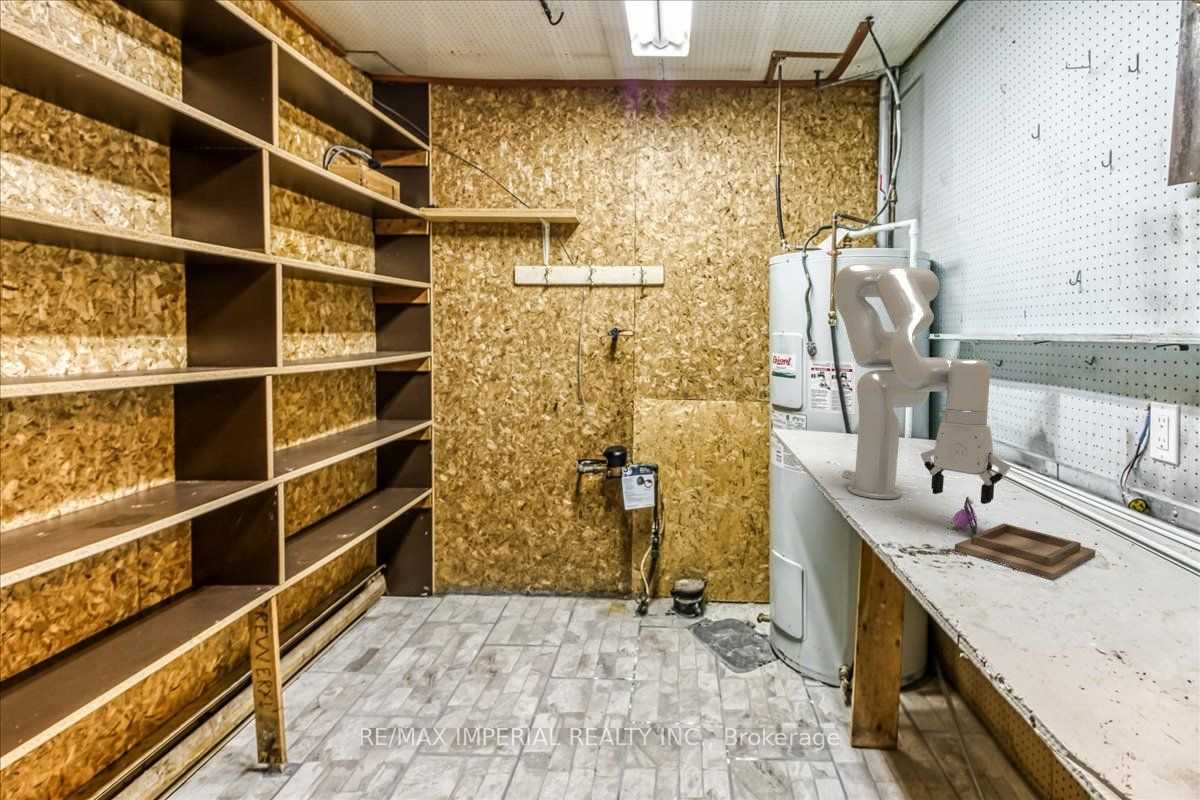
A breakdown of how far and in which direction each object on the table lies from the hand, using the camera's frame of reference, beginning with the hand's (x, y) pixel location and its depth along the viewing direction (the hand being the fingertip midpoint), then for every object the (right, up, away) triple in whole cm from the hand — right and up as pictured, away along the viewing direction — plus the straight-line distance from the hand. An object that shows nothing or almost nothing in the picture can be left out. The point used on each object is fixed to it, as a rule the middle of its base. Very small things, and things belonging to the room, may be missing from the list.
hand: (960, 497), depth 127 cm
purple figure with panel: (0, -7, -1) cm, 7 cm away
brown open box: (+4, -8, -13) cm, 16 cm away
